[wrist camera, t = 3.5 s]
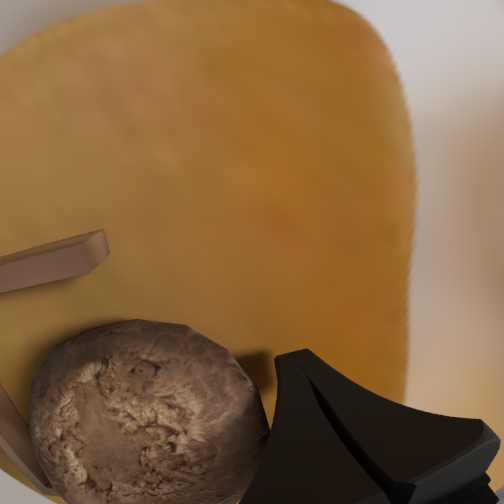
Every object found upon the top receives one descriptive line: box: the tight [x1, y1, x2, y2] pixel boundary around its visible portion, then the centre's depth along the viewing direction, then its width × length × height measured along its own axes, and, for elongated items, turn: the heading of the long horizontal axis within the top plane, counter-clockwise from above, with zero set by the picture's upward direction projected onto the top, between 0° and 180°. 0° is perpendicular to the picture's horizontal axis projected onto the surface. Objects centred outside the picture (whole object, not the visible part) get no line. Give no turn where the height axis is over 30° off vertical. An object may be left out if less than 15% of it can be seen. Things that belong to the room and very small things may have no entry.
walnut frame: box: [0, 229, 110, 497], centre depth 10 cm, size 12×9×2 cm
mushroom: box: [28, 319, 270, 504], centre depth 9 cm, size 8×8×6 cm
